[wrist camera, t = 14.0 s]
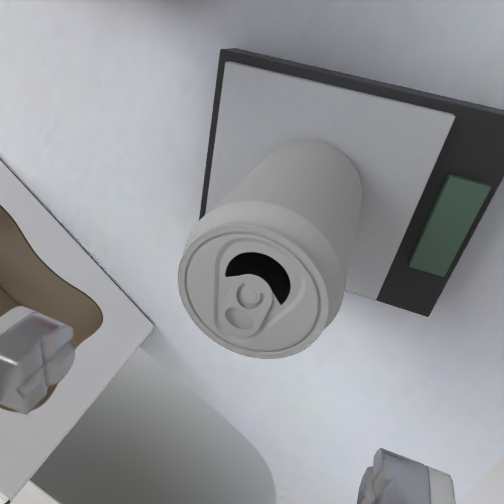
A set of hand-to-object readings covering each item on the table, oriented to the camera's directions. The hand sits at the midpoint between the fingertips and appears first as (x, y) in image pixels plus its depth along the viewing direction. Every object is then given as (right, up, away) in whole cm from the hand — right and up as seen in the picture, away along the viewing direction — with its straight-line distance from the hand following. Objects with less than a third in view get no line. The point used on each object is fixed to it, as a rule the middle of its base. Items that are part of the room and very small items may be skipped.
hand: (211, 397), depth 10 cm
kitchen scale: (+7, +8, +17) cm, 20 cm away
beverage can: (+5, +7, +14) cm, 17 cm away
